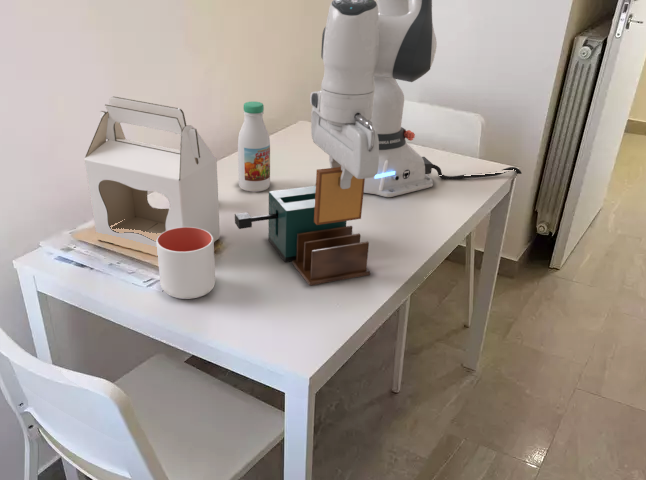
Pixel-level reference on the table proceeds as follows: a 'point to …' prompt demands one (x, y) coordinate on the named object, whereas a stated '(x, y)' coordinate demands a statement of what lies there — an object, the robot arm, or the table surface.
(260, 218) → the carriage
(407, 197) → the table surface
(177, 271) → the cup
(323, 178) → the toast
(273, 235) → the toaster
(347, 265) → the toast rack
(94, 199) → the gable box
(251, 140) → the milk bottle
